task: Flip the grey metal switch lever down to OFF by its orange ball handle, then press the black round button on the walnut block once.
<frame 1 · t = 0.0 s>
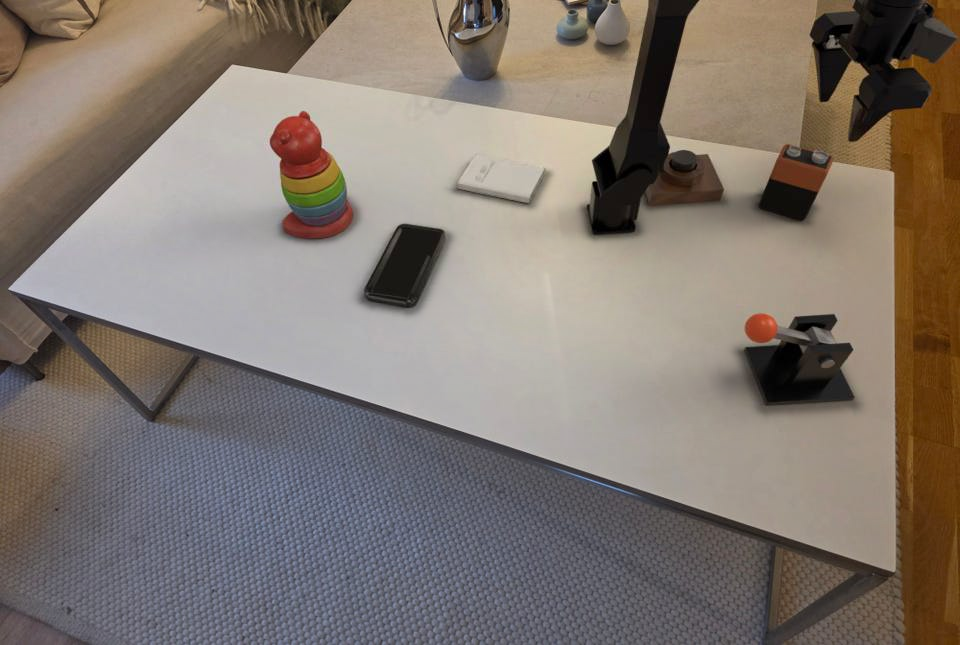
hand: (837, 120, 78), 15 cm above the table, tool pointing down, fingers open, 9 cm apart
battery: (783, 208, 89), on the table
switch bracket: (794, 376, 71), on the table
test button: (683, 161, 90), point 4 cm above the table, slide at 0.1 cm
stacking bear: (324, 219, 94), on the table
switch lever: (788, 335, 64), point 9 cm above the table, hinge at 25.0°
button block: (677, 184, 94), on the table
hard drive: (502, 182, 97), on the table
phone: (407, 266, 86), on the table
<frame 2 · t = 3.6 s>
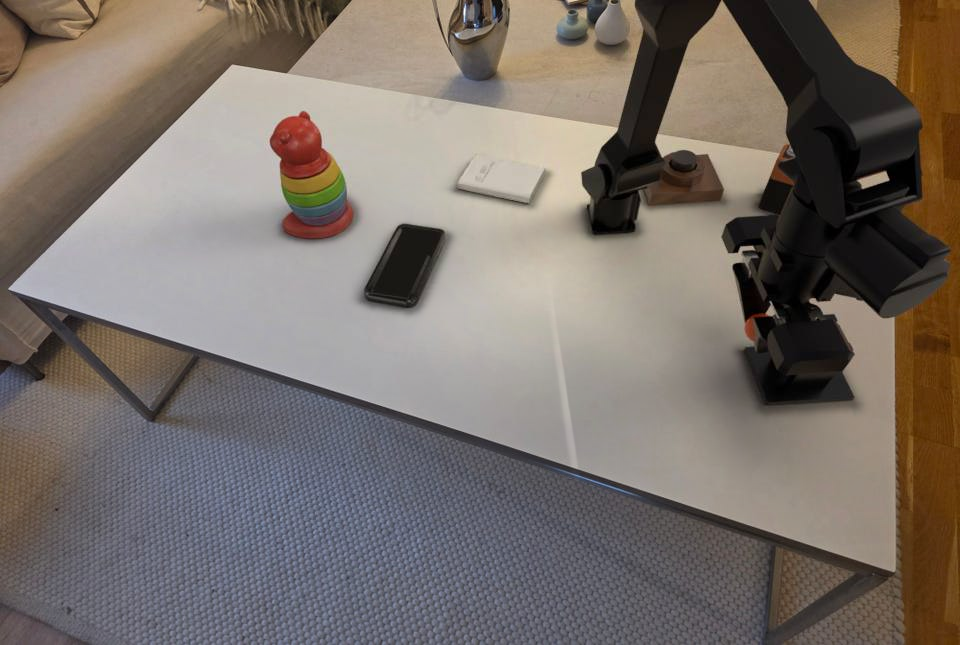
hand: (755, 339, 64), 8 cm above the table, tool pointing down, fingers closed on switch lever, 3 cm apart
switch lever: (788, 335, 64), point 9 cm above the table, hinge at 25.0°, touching gripper
everything else where it was.
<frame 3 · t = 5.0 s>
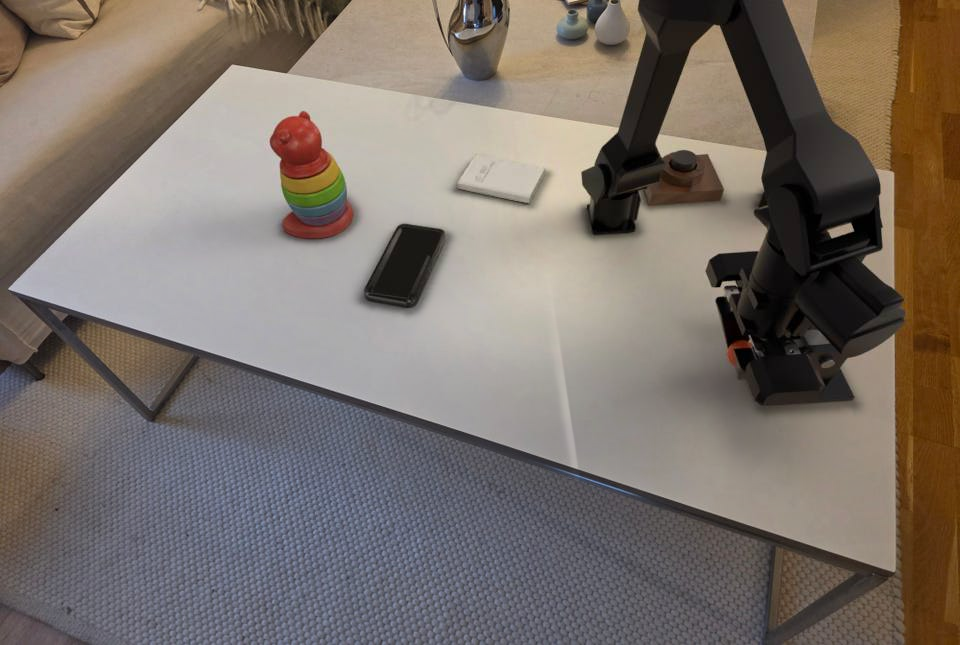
hand: (737, 366, 69), 3 cm above the table, tool pointing down, fingers closed on switch lever, 3 cm apart
switch lever: (778, 348, 66), point 6 cm above the table, hinge at -10.1°, touching gripper
everything else where it was.
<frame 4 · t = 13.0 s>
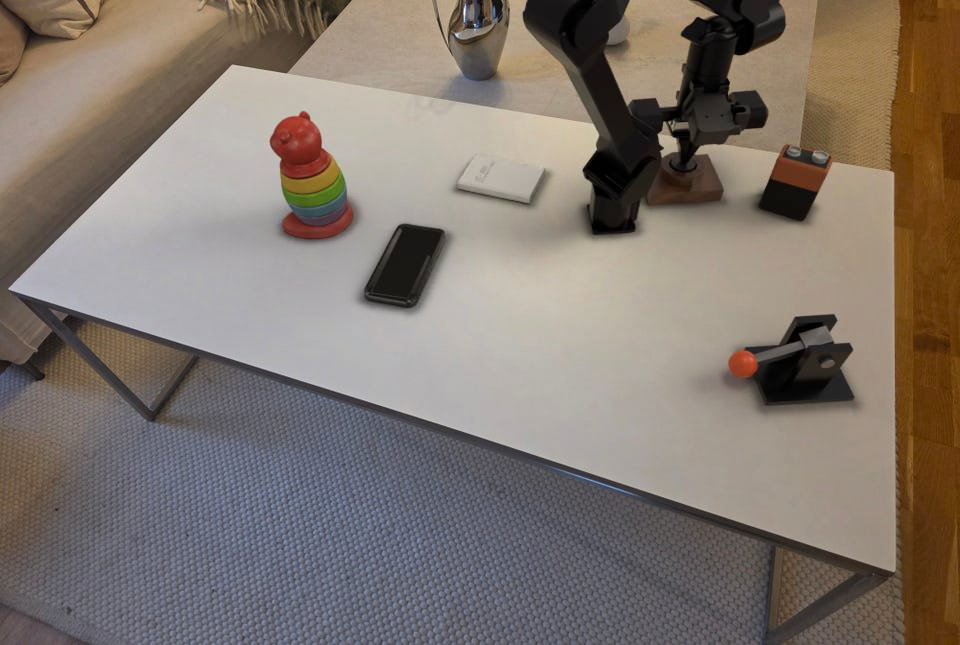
hand: (683, 162, 91), 4 cm above the table, tool pointing down, fingers closed, pressing on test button
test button: (682, 167, 91), point 3 cm above the table, slide at -1.0 cm, touching gripper
switch lever: (778, 353, 67), point 5 cm above the table, hinge at -25.7°
everything else where it was.
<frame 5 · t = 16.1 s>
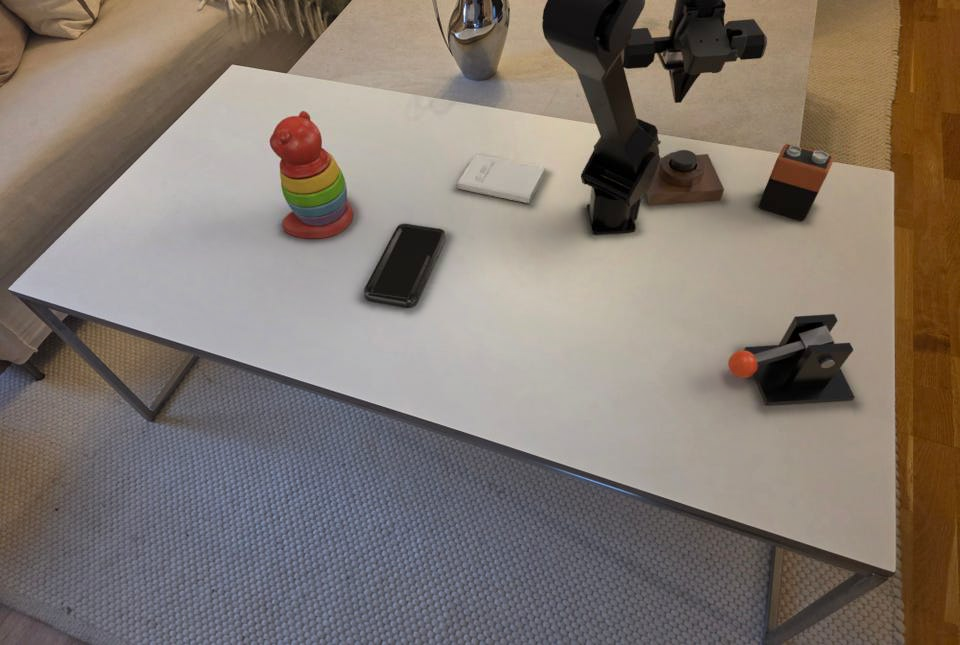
hand: (677, 101, 86), 13 cm above the table, tool pointing down, fingers closed
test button: (683, 161, 90), point 4 cm above the table, slide at 0.1 cm
everything else where it was.
at the end: switch lever at -26° (first picture: +25°); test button pushed in 1.2 cm at the most during the clip, back to where it started at the end; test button slide at 0.1 cm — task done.
